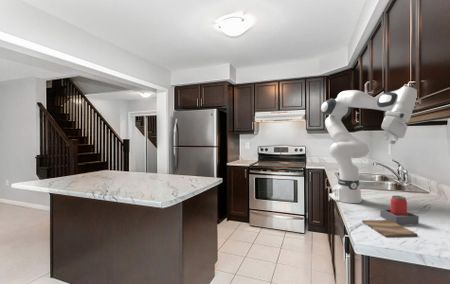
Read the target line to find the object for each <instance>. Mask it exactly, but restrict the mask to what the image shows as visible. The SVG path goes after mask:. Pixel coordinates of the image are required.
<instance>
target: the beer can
mask: <svg viewBox="0 0 450 284" xmlns="http://www.w3.org/2000/svg"><path fill="white" fill-rule="evenodd" d="M390 209H391V213H392V214H394V215H396V216H407V212H408V201H407V198H406V197H405V196H402V195H392V196H391V198H390Z"/></svg>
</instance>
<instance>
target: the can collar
mask: <svg viewBox="0 0 450 284" xmlns="http://www.w3.org/2000/svg"><path fill="white" fill-rule="evenodd" d="M379 210H380V211H379V212H380V214H379V215H380V217H381V218H382V219H383V220H391V221H393V222H395V223H397V224H399V225H401V226H403V225H405V224H413V225H419V224H420V222H419V218H420V217H419V215H416V214H414V213H412V212H409V211H407V216H396V215H394V214H392V213H391V208H380V209H379ZM405 226H406V225H405Z"/></svg>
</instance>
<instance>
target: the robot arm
mask: <svg viewBox="0 0 450 284" xmlns="http://www.w3.org/2000/svg"><path fill="white" fill-rule="evenodd" d="M417 90H418V89H417V87H416V88H415V87H413V86H409V85H403V86H402V87H400V88H399V89H395V90H392V91H386V92H384V93H382V94H381V95H379V96H378V98H376V97H374V96H372V95H370V94H368V93H366V92H364V91H361V90H357V89H352V90H351V89H349V90H343V91H341V92H339V93H338V94H337V96H336V98H330V99H327V100H324V101H323V102H322V103H321V104H320V111H321V113H322V115H326V116H327V118H326V119H325V121H324V125H325V128H326V130H327V132H328V135H329V136H330V137H331V140H332V141H333V143H332V144H331V145H330V146H329V151H328V152H329V154H330V156H331V157H332V158H333V159H335V161H336V162H337V166H338V170H339V171H338V173H339V178H338V179H337V184H336V185H334V186H333V187H332V189H331V193H328V196H330V198H331V199H332V200H333V201H336V202H341V203H346V204H359V203H360V204H361V202H362V201H364V199H363V198H362V193H361V192H362V189H361V187H360V180H359V168H358V166H357V165H356V164H354V163H353V161H352V159H360V158H364V157H367V156H368V154H369V152H370V148H369V146H368V144H367V143H365V142H363V141H361V140H359V139H358V138H356V137H355V136H353V134H351V133H350V132H349V131H348V130H347V128H346V126H345V125H344V123H343V121H342V120H345V119H346V118H347V117H348V116H350V114H351V111H352V108H355V109H356V108H359V109H370V110H377V111H382V112H385V114H384V115H385V116H384V117H383V121H382V123H381V130H384V131H383V137H382V139H383V140H385V141H388V140H389V135H392V136H393V137H392V139H391V140H390V144H391V145H396V143H397V141H398V140H399V139H403V138H404V137H405V136H406V132H407V130H408V125H407V123H409V121H410V119H411V117H412V115H413V110H414V108H415V107H416V105H415V101H416V98H417ZM414 106H415V107H414Z"/></svg>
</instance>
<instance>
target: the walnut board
mask: <svg viewBox="0 0 450 284" xmlns="http://www.w3.org/2000/svg"><path fill="white" fill-rule="evenodd" d="M361 222H363V224H364V225H365V224H366V226H367V225H368V226H367V227H369V228H370V227H371V228H370V229H372V230H373V229H374V231H375V232H377V233H378V234H380V235H381V236H383V237H385V238H391V237H392V238H395V237H396V238H397V237H398V238H400V237H402V238H403V237H418V233H416V232H415V231H412V230H411V229H408V228H406V227H405V226H403V225H399V224H397V223H395V222H393V221H391V220H386V219H377V220H376V219H374V220H373V219H372V220H371V219H369V220H366V219H365V220H361Z"/></svg>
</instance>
